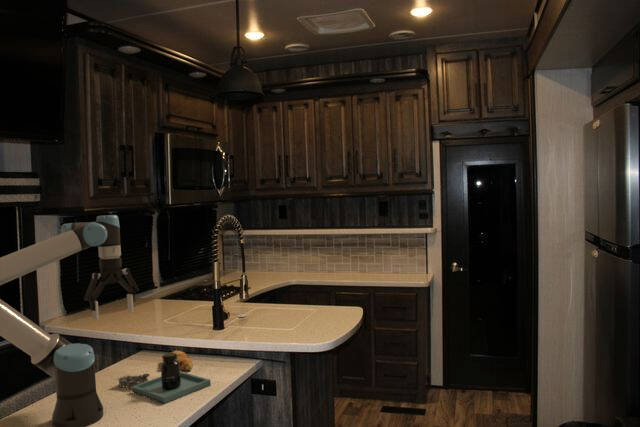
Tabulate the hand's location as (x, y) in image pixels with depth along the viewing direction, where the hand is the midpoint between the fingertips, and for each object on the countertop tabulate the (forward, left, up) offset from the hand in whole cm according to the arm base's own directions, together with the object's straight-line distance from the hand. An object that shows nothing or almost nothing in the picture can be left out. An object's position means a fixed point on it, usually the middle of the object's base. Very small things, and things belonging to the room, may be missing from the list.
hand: (113, 315), depth 188 cm
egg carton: (+7, +2, -29) cm, 30 cm away
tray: (+13, -14, -29) cm, 34 cm away
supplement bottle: (+13, -14, -28) cm, 34 cm away
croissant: (+30, +6, -29) cm, 42 cm away
